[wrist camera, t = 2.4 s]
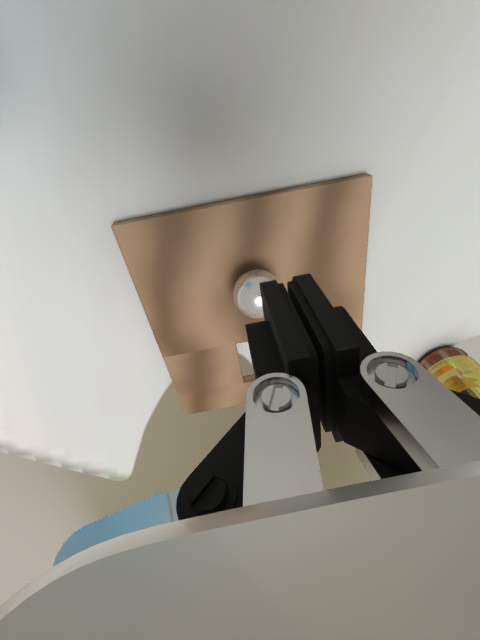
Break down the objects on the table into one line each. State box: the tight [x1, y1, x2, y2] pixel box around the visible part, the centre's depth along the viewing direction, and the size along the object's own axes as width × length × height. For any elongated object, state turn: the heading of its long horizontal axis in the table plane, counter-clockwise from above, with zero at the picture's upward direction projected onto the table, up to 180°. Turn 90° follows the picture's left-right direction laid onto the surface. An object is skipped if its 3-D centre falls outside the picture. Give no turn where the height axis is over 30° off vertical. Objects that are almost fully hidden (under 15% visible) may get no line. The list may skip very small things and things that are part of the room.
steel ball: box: [233, 269, 279, 318], centre depth 26 cm, size 4×4×4 cm
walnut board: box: [111, 173, 372, 415], centre depth 30 cm, size 20×22×1 cm
